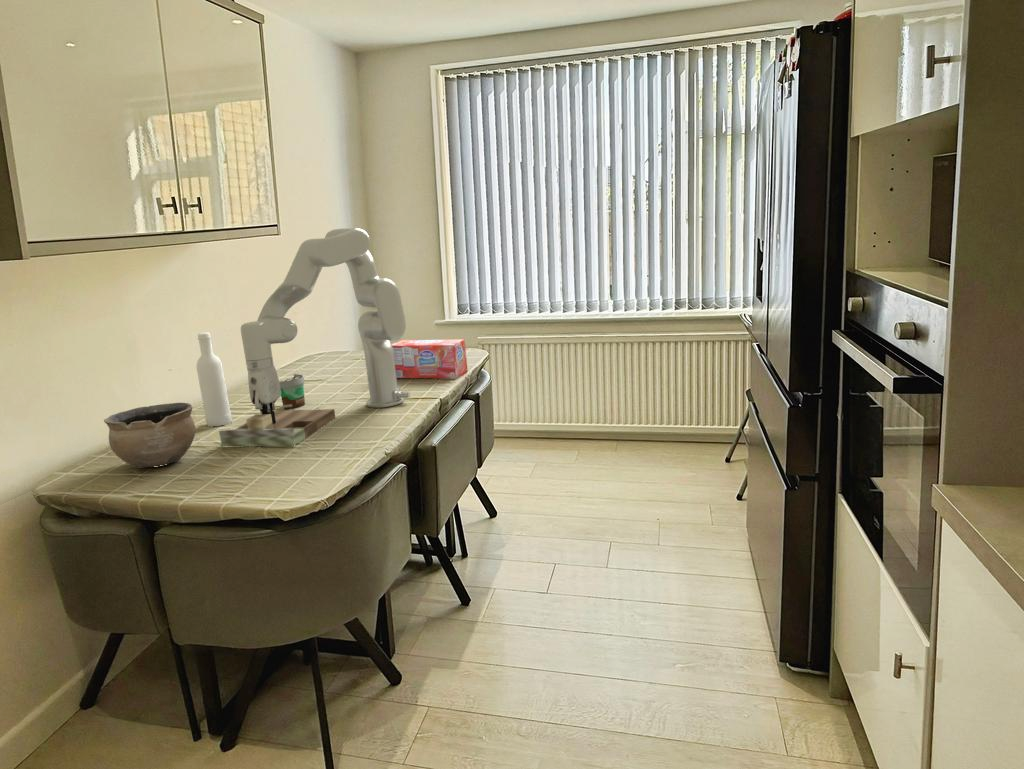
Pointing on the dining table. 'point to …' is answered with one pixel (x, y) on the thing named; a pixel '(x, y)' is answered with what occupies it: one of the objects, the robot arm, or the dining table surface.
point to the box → (430, 358)
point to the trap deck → (280, 429)
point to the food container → (293, 392)
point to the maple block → (260, 421)
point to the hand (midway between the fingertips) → (269, 424)
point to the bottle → (212, 384)
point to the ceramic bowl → (152, 434)
